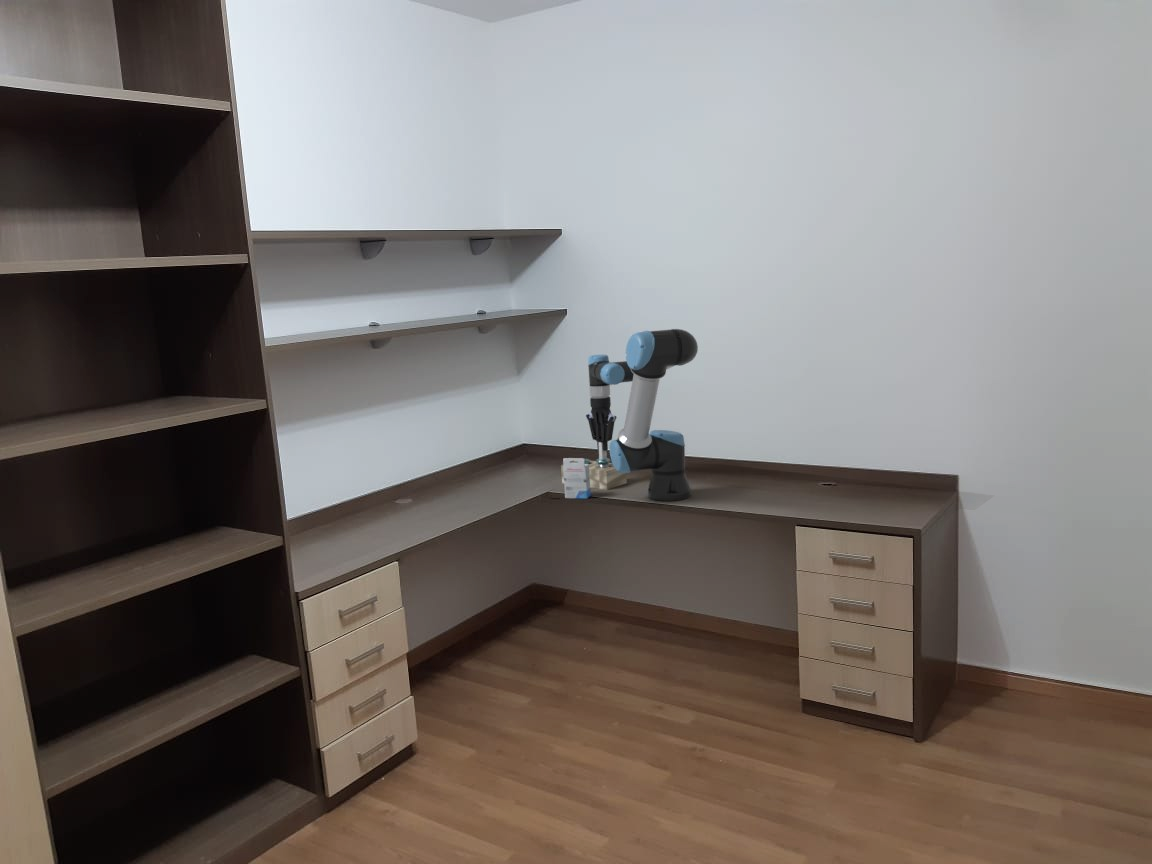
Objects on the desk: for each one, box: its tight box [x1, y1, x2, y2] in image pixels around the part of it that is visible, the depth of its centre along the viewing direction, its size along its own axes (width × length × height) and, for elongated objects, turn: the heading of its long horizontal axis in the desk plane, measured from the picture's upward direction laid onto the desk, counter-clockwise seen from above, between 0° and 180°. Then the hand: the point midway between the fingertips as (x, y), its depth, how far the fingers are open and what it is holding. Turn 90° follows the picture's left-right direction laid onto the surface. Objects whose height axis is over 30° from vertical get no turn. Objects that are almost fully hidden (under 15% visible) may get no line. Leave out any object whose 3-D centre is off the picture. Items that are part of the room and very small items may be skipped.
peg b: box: [595, 457, 611, 468], centre depth 341 cm, size 5×5×8 cm
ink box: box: [562, 457, 592, 500], centre depth 325 cm, size 9×5×15 cm, turn 71°
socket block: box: [560, 460, 628, 491], centre depth 345 cm, size 22×12×7 cm, turn 49°
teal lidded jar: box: [576, 458, 591, 464], centre depth 348 cm, size 5×5×8 cm
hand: (603, 458), depth 340 cm, fingers closed
